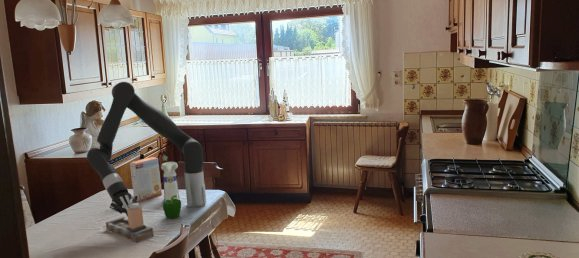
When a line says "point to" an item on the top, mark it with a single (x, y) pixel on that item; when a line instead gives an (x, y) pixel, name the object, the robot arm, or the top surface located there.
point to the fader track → (121, 226)
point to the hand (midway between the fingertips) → (133, 218)
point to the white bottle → (170, 179)
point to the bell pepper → (172, 207)
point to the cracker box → (145, 178)
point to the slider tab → (135, 218)
